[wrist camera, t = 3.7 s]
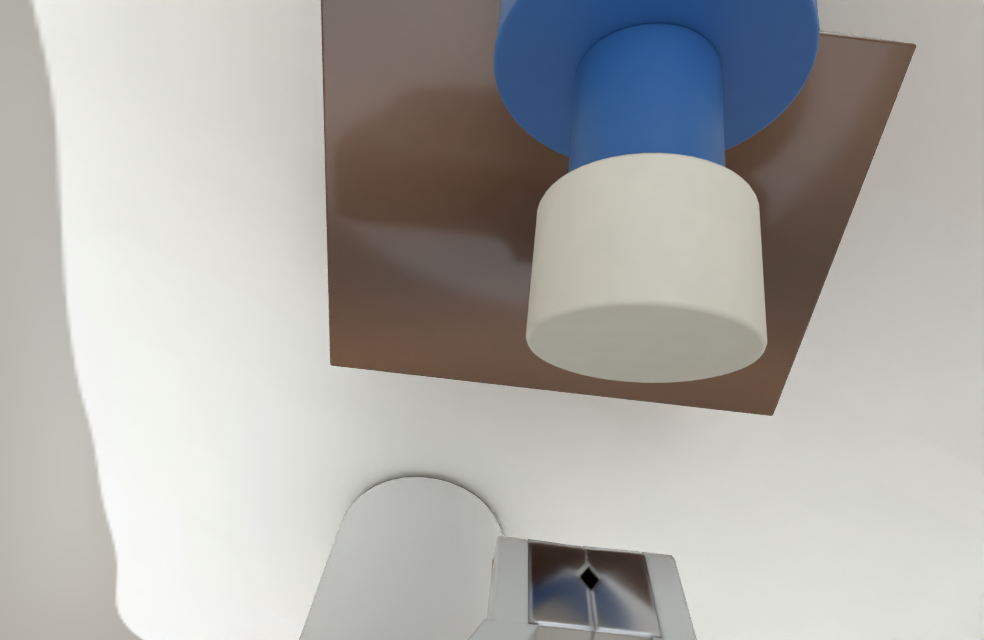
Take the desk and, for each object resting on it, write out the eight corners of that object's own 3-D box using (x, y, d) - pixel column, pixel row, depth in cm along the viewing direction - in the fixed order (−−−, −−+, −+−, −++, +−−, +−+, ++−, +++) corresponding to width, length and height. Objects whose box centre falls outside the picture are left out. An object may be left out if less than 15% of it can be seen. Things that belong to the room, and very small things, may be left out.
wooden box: (378, -21, 19) (319, -25, 13) (808, 29, 19) (918, 44, 13) (375, 281, 23) (329, 366, 18) (718, 320, 23) (773, 416, 18)
